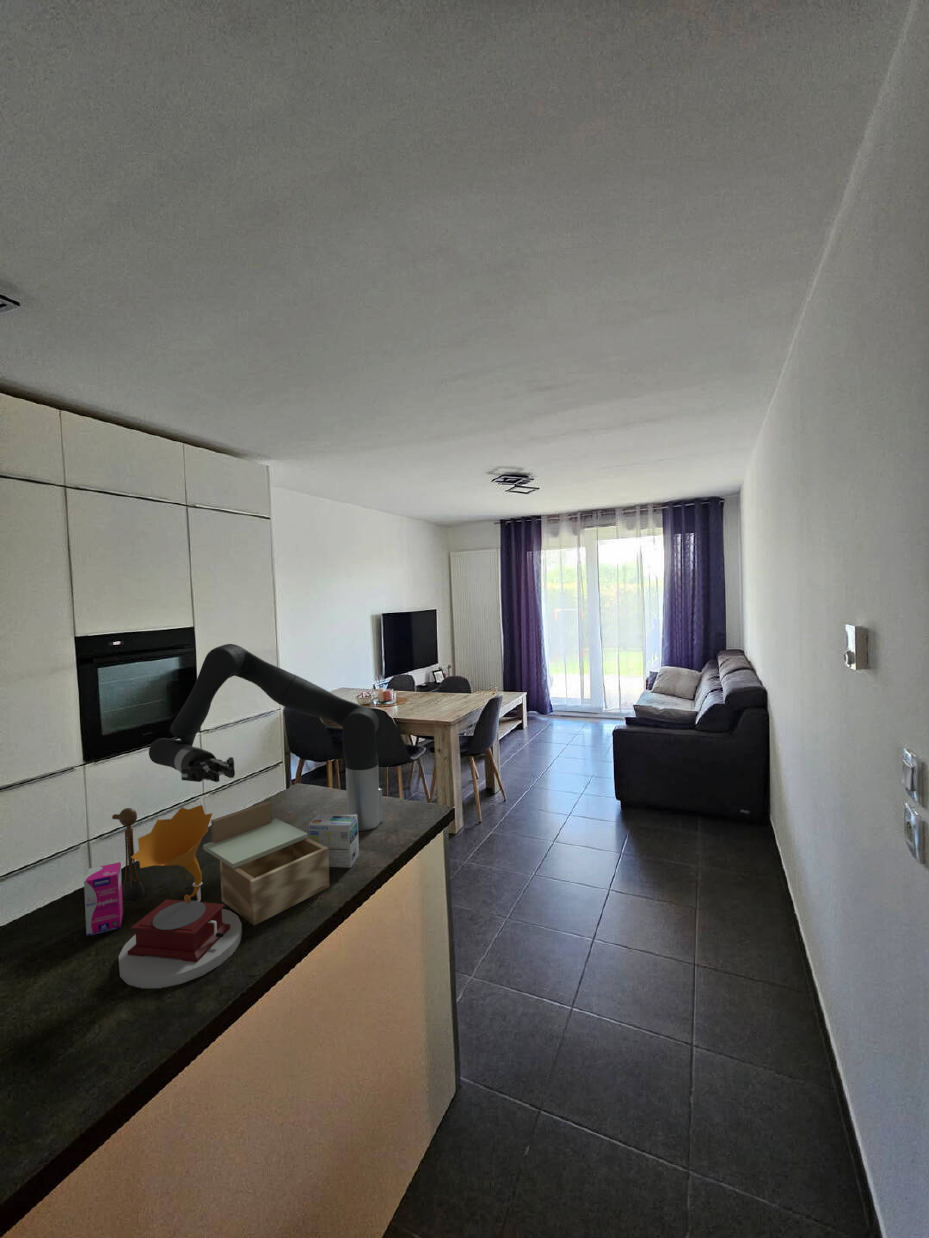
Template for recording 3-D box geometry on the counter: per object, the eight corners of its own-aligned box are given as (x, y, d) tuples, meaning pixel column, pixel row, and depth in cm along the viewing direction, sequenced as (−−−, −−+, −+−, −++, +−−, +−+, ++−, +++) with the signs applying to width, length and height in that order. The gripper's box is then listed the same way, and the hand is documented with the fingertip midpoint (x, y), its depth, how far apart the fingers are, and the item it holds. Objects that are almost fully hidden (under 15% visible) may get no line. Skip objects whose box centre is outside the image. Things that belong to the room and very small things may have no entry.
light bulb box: (359, 854, 136) (358, 813, 135) (351, 868, 129) (350, 824, 129) (319, 853, 137) (317, 812, 136) (308, 867, 130) (307, 823, 130)
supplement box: (85, 938, 105) (82, 881, 104) (90, 922, 110) (87, 867, 109) (121, 929, 107) (117, 873, 107) (124, 913, 113) (121, 860, 112)
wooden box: (295, 867, 130) (293, 831, 130) (329, 886, 121) (328, 847, 121) (221, 900, 117) (219, 860, 116) (254, 925, 108) (252, 881, 107)
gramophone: (173, 912, 113) (167, 796, 112) (262, 920, 109) (257, 800, 108) (89, 982, 93) (81, 841, 91) (196, 995, 89) (189, 848, 88)
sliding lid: (276, 822, 135) (275, 798, 135) (307, 837, 126) (306, 812, 126) (203, 849, 121) (202, 823, 121) (233, 868, 112) (231, 840, 112)
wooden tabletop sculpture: (110, 901, 117) (105, 811, 116) (126, 889, 122) (122, 803, 121) (133, 903, 116) (129, 812, 115) (149, 891, 121) (145, 804, 120)
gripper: (166, 755, 138) (195, 768, 127) (220, 742, 148) (251, 753, 137) (167, 783, 138) (196, 799, 127) (221, 769, 149) (253, 782, 138)
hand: (225, 775), depth 132 cm, fingers open, 3 cm apart
